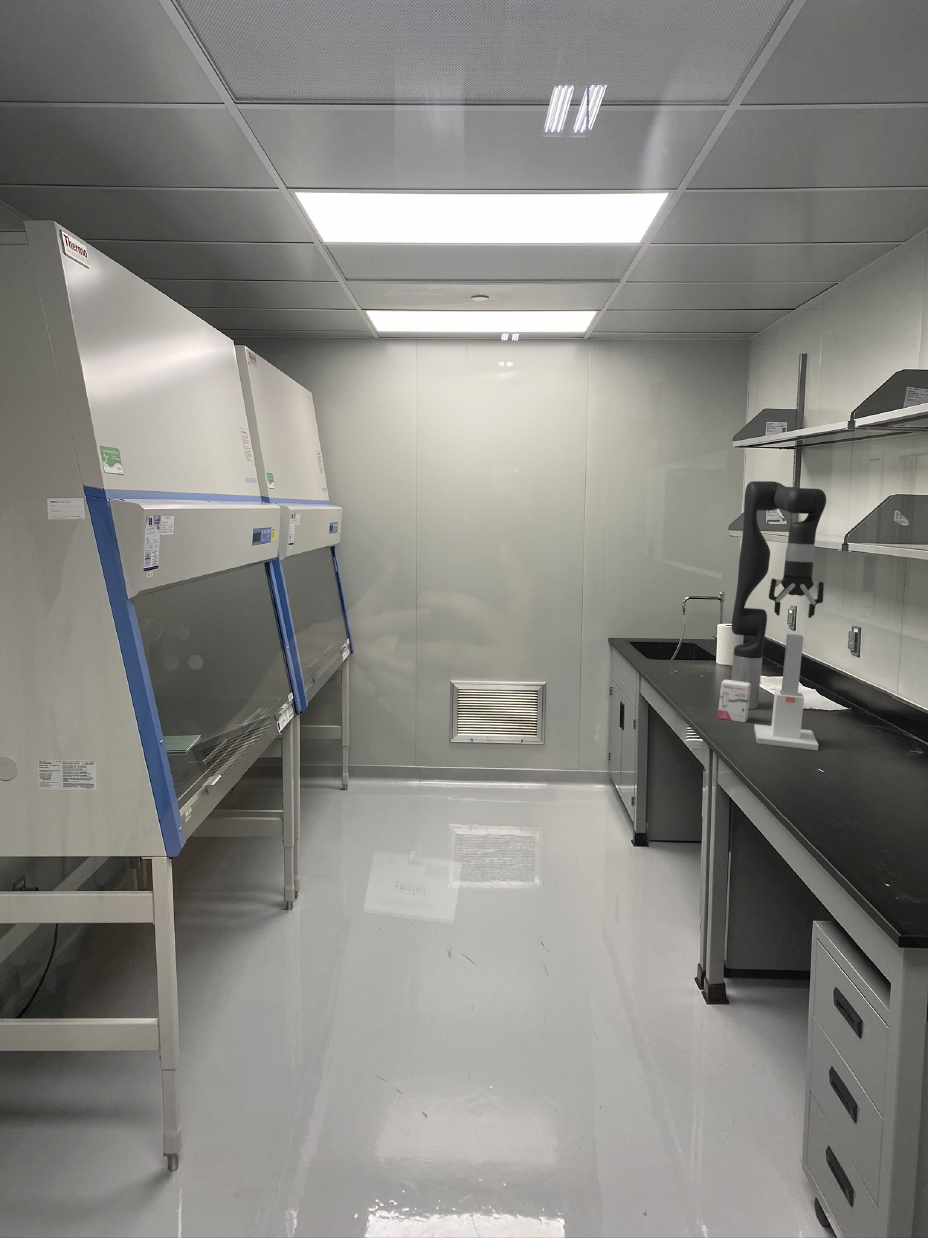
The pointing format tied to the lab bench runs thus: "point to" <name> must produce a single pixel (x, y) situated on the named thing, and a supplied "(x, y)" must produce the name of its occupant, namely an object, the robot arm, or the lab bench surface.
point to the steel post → (792, 665)
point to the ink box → (734, 700)
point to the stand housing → (786, 724)
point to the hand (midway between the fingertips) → (793, 616)
